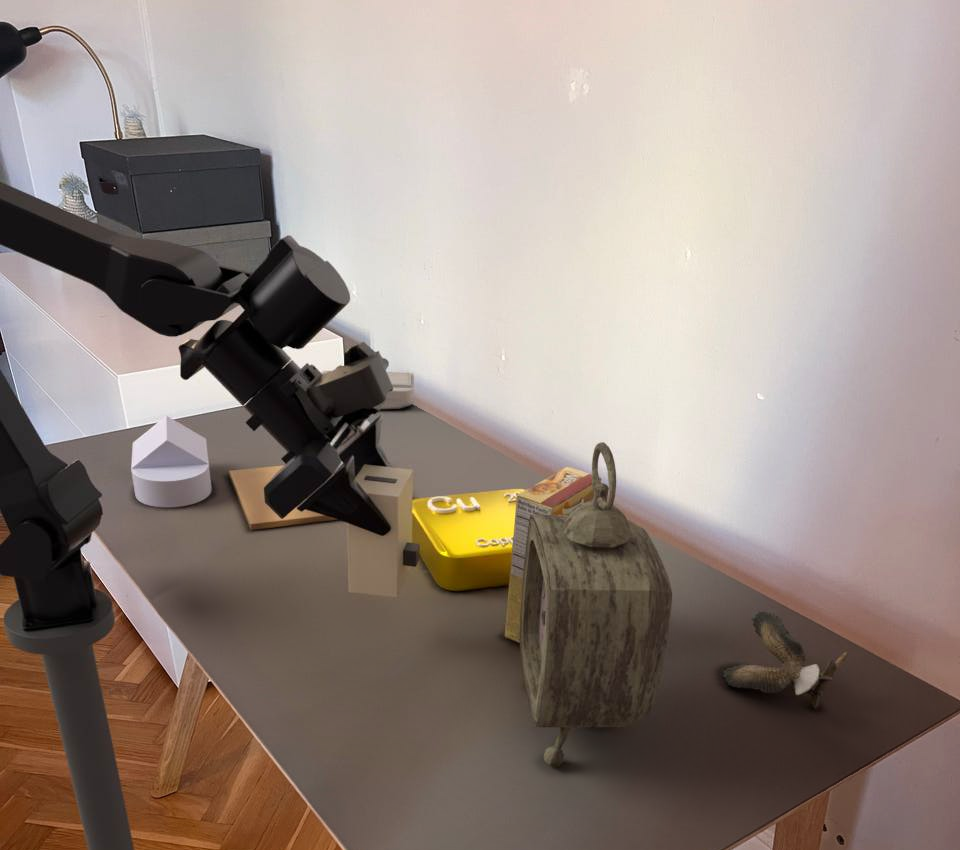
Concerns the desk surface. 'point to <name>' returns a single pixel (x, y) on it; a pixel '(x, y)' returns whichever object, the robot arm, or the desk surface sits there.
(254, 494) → the cork mat
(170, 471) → the wedge on round base
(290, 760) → the desk surface
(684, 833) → the desk surface
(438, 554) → the element tile
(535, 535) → the tabletop clock
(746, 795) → the desk surface
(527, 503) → the candy box
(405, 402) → the handheld gaming device
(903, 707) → the desk surface
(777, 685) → the eagle figurine
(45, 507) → the robot arm
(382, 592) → the toaster
